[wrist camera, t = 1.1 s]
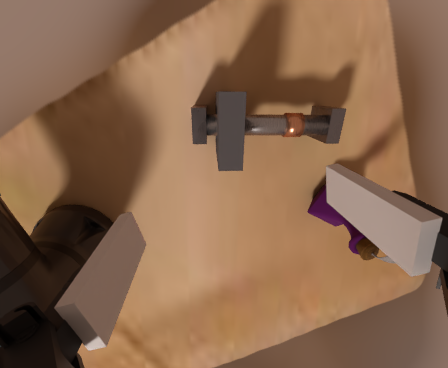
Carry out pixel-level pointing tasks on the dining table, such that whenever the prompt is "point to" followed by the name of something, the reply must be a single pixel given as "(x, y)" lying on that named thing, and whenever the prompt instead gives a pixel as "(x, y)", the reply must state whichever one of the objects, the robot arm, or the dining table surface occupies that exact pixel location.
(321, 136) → the pipe stand
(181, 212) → the dining table surface
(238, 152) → the collar
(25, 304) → the robot arm
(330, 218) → the perfume bottle
